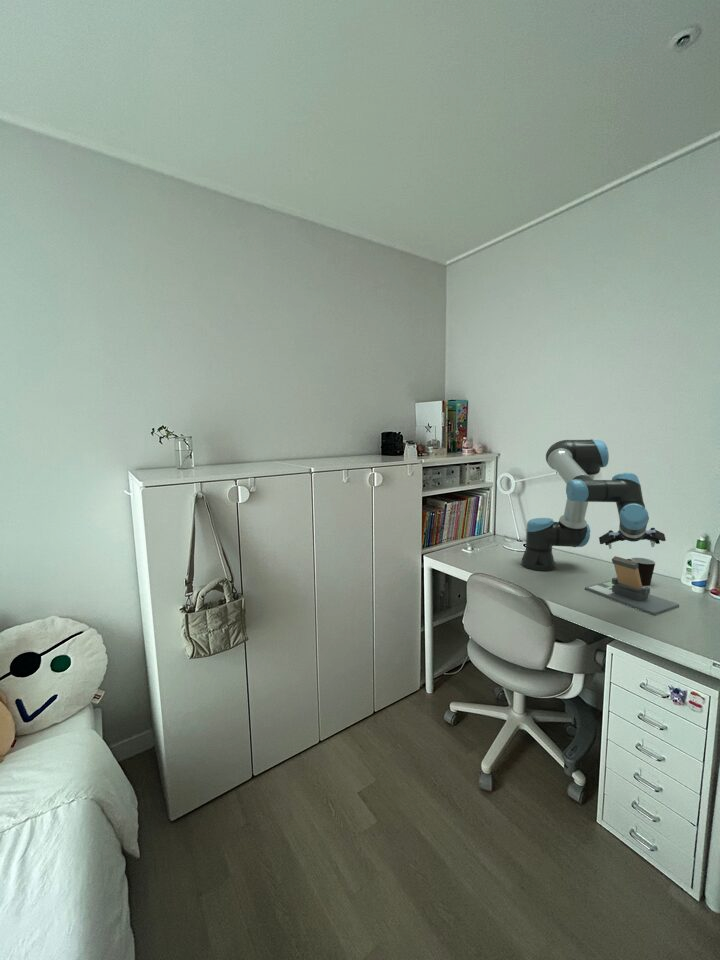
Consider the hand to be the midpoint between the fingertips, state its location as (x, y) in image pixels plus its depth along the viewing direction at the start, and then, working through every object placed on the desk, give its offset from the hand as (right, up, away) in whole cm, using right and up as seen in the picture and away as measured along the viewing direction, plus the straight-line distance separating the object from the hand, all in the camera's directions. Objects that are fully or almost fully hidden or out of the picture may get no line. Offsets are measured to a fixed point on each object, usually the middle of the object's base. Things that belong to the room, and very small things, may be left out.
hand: (630, 544), depth 150 cm
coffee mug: (+17, -20, +19) cm, 32 cm away
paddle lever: (+1, -17, +2) cm, 17 cm away
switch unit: (+1, -21, +3) cm, 22 cm away
